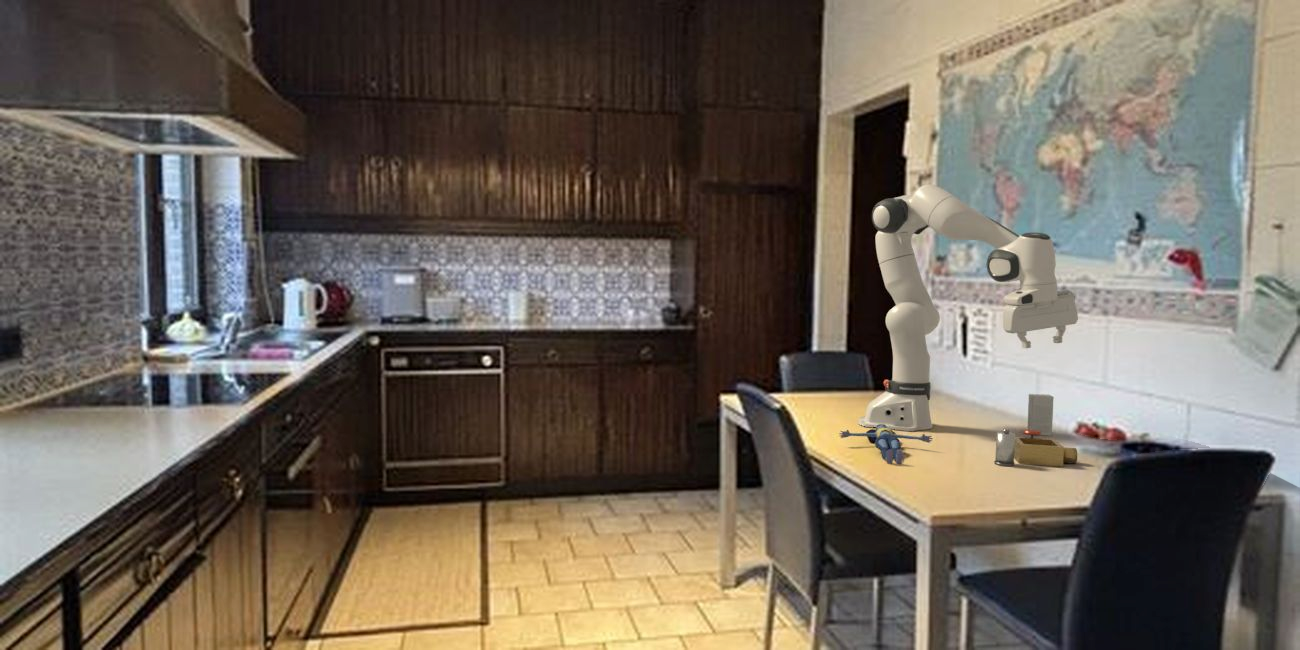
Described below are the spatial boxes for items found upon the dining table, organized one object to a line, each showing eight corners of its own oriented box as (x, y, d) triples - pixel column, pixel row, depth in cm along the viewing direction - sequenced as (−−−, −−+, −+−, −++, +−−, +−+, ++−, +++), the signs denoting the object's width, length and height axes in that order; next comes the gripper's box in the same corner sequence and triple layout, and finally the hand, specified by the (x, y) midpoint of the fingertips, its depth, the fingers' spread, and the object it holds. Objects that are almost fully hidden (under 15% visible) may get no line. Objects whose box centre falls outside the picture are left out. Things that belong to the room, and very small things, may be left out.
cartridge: (995, 465, 218) (997, 430, 217) (993, 461, 222) (994, 427, 222) (1016, 467, 217) (1018, 432, 216) (1012, 463, 221) (1014, 428, 220)
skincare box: (1046, 433, 262) (1049, 394, 261) (1052, 436, 258) (1054, 396, 257) (1026, 432, 262) (1028, 393, 262) (1031, 435, 258) (1033, 395, 257)
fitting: (1019, 463, 220) (1020, 439, 220) (1008, 451, 235) (1010, 428, 235) (1080, 468, 217) (1081, 443, 216) (1065, 454, 232) (1067, 431, 231)
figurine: (896, 466, 216) (896, 445, 216) (825, 447, 238) (826, 427, 237) (953, 457, 227) (954, 436, 227) (880, 439, 249) (881, 420, 249)
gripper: (1065, 288, 232) (1068, 338, 233) (997, 298, 228) (1001, 349, 230) (1081, 289, 226) (1084, 341, 227) (1012, 299, 222) (1015, 352, 223)
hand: (1042, 345), depth 228 cm, fingers open, 8 cm apart
